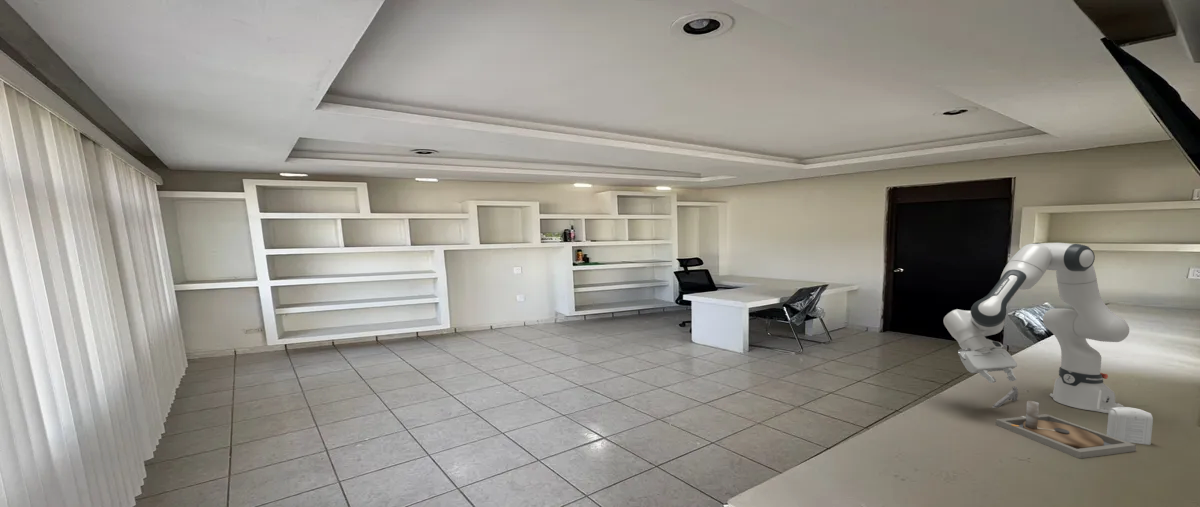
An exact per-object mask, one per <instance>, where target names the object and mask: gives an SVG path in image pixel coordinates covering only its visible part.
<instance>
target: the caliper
mask: <svg viewBox="0 0 1200 507" xmlns="http://www.w3.org/2000/svg"><path fill="white" fill-rule="evenodd" d="M1018 395H1019V390H1018V388H1017V386H1012V389H1011V390H1010V391H1008V392H1007V393H1006V395H1004V396H1003V397H1001V399H999V400H998V401H996V402H995V403H993V404H992V407H991V409H993V408H994V409H995V408H1000V407H1001V406H1003V404H1005V403H1006V402H1007V401H1013V402H1016V401H1018V398H1019V396H1018Z"/></svg>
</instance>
